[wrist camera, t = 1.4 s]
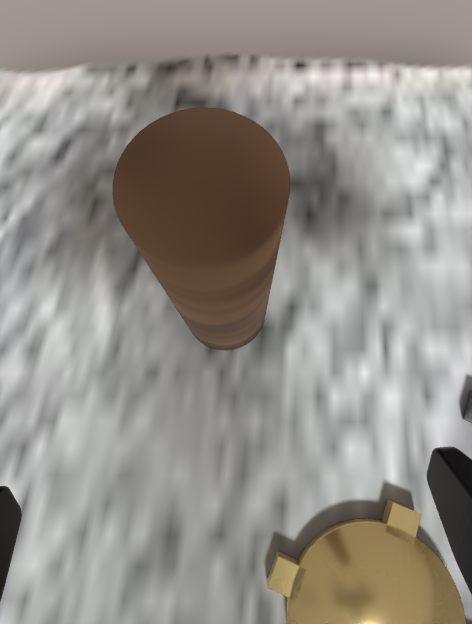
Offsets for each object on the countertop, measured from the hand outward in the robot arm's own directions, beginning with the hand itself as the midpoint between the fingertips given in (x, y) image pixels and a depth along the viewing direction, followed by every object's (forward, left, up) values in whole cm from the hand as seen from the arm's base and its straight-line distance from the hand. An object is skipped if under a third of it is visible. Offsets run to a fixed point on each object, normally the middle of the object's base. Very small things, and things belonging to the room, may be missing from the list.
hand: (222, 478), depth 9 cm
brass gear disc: (-5, -9, -13) cm, 16 cm away
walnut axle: (+6, +3, -13) cm, 15 cm away
